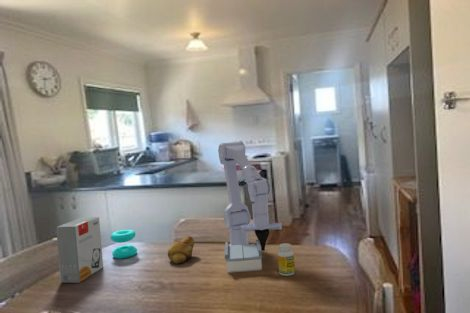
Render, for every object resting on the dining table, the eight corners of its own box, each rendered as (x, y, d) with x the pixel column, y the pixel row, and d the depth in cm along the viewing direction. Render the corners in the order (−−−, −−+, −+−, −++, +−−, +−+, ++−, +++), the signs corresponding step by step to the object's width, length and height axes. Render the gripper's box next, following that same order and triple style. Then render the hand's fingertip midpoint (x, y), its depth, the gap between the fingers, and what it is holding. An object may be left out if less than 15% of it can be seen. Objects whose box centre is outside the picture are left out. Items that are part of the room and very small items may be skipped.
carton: (227, 258, 142) (226, 248, 142) (258, 256, 142) (257, 246, 142) (227, 272, 128) (226, 261, 128) (261, 270, 128) (261, 259, 128)
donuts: (130, 234, 149) (106, 236, 150) (133, 258, 150) (108, 260, 151) (138, 228, 159) (115, 229, 160) (140, 250, 160) (117, 252, 161)
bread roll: (186, 265, 138) (184, 244, 138) (162, 265, 140) (160, 244, 140) (196, 254, 151) (195, 234, 150) (174, 254, 153) (172, 235, 152)
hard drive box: (79, 283, 128) (73, 227, 127) (60, 283, 130) (54, 227, 128) (104, 266, 143) (99, 216, 142) (86, 266, 145) (81, 216, 143)
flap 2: (242, 246, 142) (242, 240, 142) (258, 245, 142) (258, 239, 142) (244, 259, 127) (243, 253, 127) (262, 258, 127) (261, 252, 127)
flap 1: (225, 247, 142) (225, 242, 142) (241, 246, 142) (241, 240, 142) (225, 261, 127) (224, 255, 127) (243, 259, 127) (242, 253, 127)
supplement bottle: (285, 268, 128) (283, 241, 127) (298, 272, 124) (296, 244, 123) (275, 273, 124) (273, 245, 124) (288, 277, 120) (286, 248, 120)
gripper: (240, 217, 130) (243, 255, 131) (282, 214, 130) (284, 251, 131) (240, 212, 137) (242, 248, 138) (279, 209, 137) (281, 245, 138)
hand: (263, 249), depth 135 cm, fingers closed
